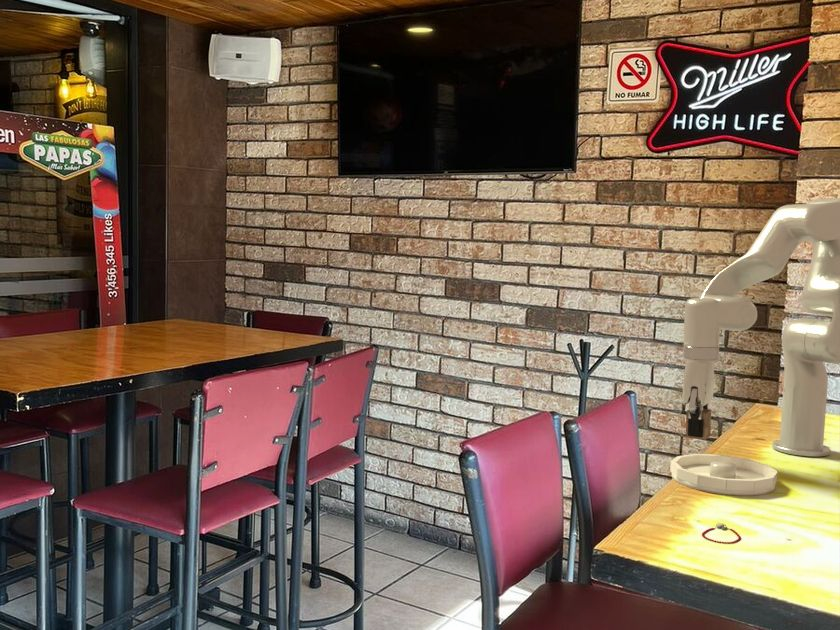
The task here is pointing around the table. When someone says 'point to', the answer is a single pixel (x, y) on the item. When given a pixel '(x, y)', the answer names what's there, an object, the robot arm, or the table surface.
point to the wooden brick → (706, 425)
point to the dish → (738, 486)
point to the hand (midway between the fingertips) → (698, 433)
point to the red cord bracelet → (719, 525)
